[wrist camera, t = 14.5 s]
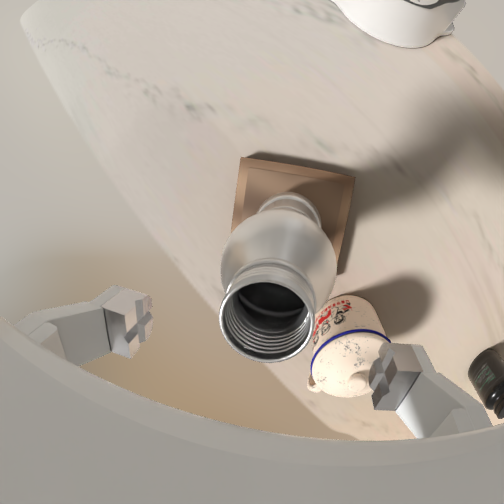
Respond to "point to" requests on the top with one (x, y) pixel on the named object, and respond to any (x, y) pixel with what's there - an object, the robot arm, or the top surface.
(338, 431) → the top surface
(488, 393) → the supplement bottle
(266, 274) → the plastic bottle
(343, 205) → the display stand
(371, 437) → the top surface
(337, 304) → the teacup with lid
